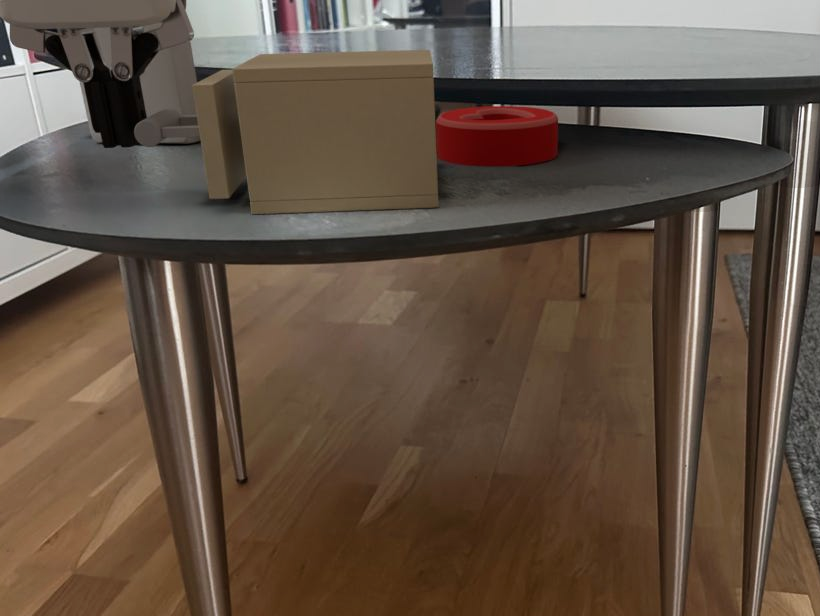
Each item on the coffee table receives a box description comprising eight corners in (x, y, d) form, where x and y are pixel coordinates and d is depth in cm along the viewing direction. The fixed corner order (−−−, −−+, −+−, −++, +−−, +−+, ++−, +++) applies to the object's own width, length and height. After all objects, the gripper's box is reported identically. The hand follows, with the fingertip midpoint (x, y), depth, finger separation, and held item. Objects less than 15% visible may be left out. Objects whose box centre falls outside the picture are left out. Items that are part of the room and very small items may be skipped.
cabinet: (251, 214, 53) (231, 68, 49) (274, 180, 61) (259, 53, 58) (438, 207, 53) (433, 63, 50) (434, 174, 62) (429, 49, 58)
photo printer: (84, 145, 76) (52, -6, 70) (112, 136, 79) (84, -8, 74) (189, 147, 74) (165, -8, 68) (213, 138, 77) (191, -10, 72)
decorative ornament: (558, 166, 64) (559, 123, 62) (431, 167, 64) (429, 124, 63) (556, 143, 72) (557, 104, 71) (443, 143, 73) (442, 105, 72)
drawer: (138, 201, 52) (116, 86, 50) (173, 172, 60) (156, 71, 57) (379, 193, 53) (371, 79, 50) (383, 165, 61) (377, 65, 58)
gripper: (-118, -202, 43) (-22, 160, 51) (178, -206, 44) (229, 151, 52) (-46, -178, 50) (29, 138, 58) (210, -182, 51) (251, 130, 59)
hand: (124, 143), depth 55 cm, fingers closed
